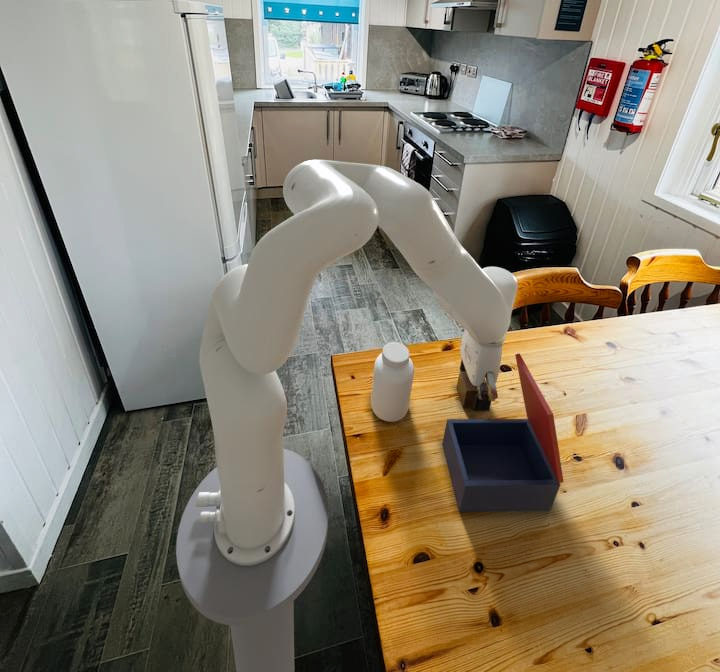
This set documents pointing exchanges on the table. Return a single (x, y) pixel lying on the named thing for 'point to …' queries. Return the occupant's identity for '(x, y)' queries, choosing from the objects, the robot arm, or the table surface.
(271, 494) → the robot arm
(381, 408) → the pill bottle
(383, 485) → the table surface
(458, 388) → the block
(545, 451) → the lunchbox lid
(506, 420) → the box
